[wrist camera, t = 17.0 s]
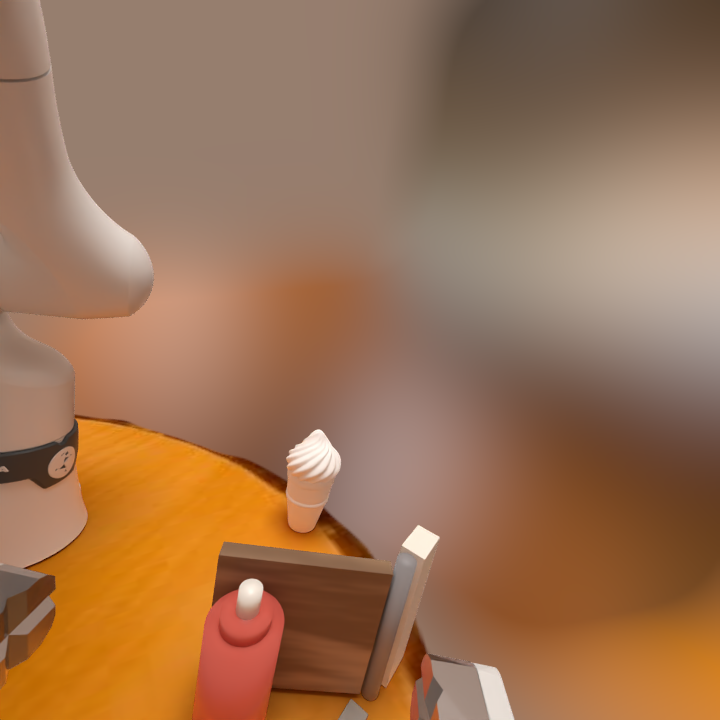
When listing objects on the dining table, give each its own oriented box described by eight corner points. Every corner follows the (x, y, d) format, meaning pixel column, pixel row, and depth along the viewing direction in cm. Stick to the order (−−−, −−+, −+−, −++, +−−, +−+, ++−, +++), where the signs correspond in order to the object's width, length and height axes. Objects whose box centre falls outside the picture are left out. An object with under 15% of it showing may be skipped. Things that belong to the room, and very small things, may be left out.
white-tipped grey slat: (213, 915, 23) (247, 734, 19) (384, 642, 42) (418, 525, 38) (238, 957, 21) (280, 773, 18) (402, 657, 40) (439, 537, 37)
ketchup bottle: (200, 797, 27) (224, 642, 24) (181, 714, 32) (199, 573, 28) (274, 745, 31) (304, 604, 27) (248, 677, 35) (271, 548, 32)
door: (211, 649, 37) (228, 529, 33) (357, 661, 38) (388, 548, 35) (201, 682, 34) (218, 555, 30) (359, 694, 36) (393, 574, 32)
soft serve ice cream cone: (327, 546, 54) (348, 450, 50) (270, 539, 53) (288, 441, 49) (327, 509, 62) (346, 424, 58) (278, 503, 61) (294, 415, 57)
